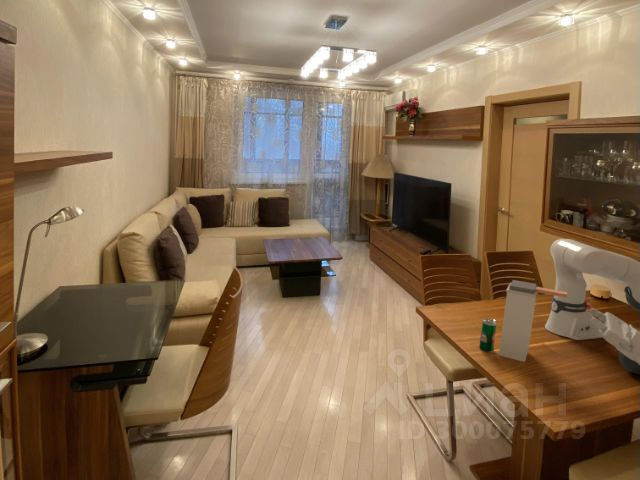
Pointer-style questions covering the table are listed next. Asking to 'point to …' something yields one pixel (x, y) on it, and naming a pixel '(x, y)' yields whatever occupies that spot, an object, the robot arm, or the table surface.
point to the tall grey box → (517, 324)
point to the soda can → (488, 335)
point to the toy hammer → (534, 289)
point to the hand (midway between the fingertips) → (591, 314)
